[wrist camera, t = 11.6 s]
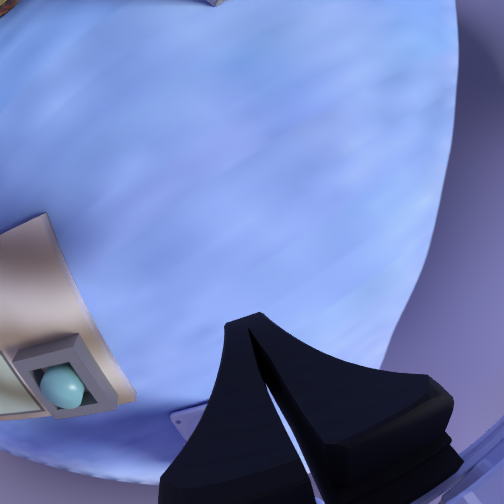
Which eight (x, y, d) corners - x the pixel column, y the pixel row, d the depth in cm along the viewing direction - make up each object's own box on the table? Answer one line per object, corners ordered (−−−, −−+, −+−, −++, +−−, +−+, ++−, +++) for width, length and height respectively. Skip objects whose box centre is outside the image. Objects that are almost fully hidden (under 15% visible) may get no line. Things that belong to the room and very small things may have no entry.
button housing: (118, 395, 20) (116, 409, 18) (59, 406, 19) (55, 419, 18) (79, 332, 18) (73, 346, 16) (18, 349, 17) (11, 362, 15)
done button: (93, 387, 19) (89, 405, 17) (61, 393, 19) (56, 411, 17) (72, 354, 18) (65, 372, 16) (40, 362, 17) (32, 379, 16)
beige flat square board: (136, 392, 21) (135, 401, 20) (4, 414, 19) (1, 421, 18) (46, 212, 16) (39, 216, 15) (-78, 280, 14) (-85, 285, 13)
